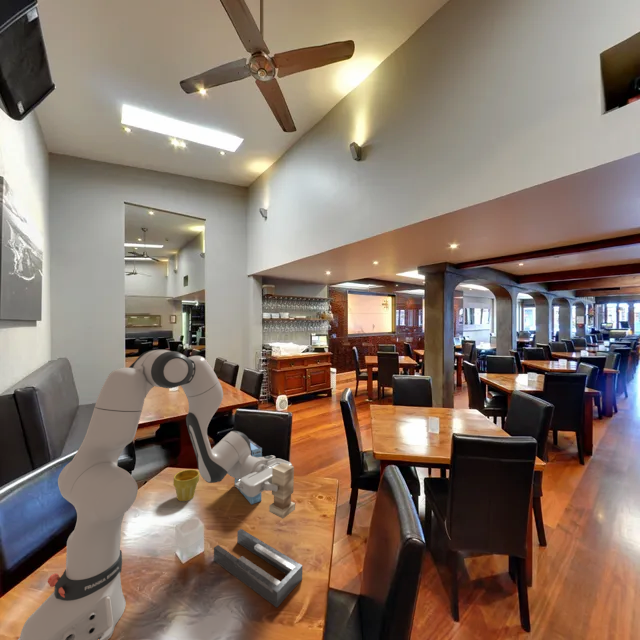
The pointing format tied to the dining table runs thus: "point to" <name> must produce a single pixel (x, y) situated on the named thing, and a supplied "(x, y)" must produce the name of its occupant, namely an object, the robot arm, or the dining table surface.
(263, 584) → the grey slotted frame
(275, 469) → the birch keyhole peg
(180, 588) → the dining table surface
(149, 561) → the dining table surface
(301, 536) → the dining table surface
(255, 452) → the gum box
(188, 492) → the plant pot
